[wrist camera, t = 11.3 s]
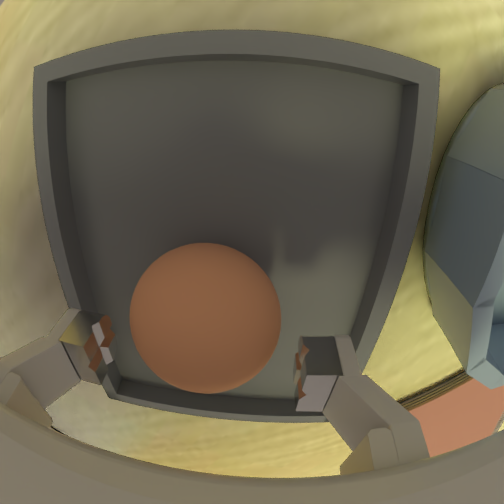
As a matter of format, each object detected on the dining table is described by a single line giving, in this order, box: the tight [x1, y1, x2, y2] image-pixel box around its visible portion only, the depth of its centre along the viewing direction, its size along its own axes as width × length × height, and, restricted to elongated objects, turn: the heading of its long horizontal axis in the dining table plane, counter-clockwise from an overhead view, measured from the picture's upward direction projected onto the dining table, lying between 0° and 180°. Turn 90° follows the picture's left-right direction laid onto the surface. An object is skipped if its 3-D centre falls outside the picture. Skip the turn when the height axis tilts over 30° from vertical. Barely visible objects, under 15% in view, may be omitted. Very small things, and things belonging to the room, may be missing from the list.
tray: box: [33, 30, 440, 423], centre depth 11 cm, size 14×18×2 cm
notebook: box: [399, 371, 504, 457], centre depth 20 cm, size 27×17×2 cm, turn 29°
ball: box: [129, 243, 281, 394], centre depth 9 cm, size 5×5×5 cm
